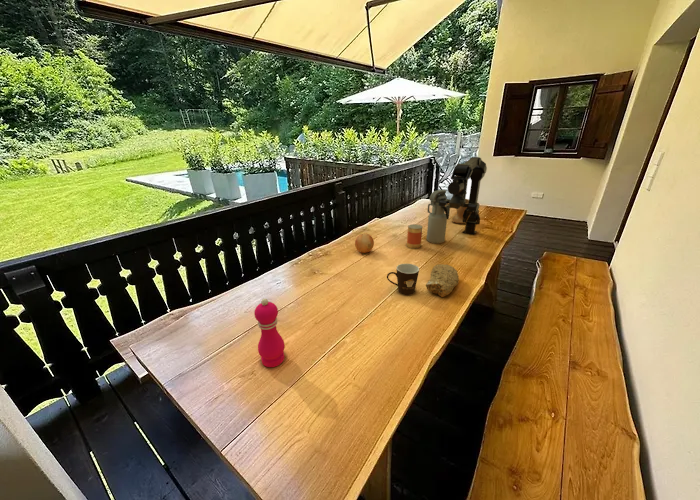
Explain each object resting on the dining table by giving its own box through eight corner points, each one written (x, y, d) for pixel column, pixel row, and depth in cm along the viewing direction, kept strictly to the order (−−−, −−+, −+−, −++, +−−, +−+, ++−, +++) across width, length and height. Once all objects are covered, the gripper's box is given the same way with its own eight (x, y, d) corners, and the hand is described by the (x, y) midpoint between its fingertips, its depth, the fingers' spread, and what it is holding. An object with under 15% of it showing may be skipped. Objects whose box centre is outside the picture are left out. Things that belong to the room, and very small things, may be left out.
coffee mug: (418, 287, 120) (420, 265, 117) (415, 298, 113) (417, 274, 109) (390, 283, 124) (391, 261, 120) (385, 293, 117) (386, 270, 113)
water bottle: (434, 245, 161) (439, 193, 150) (422, 239, 169) (426, 190, 158) (448, 241, 165) (454, 191, 154) (436, 236, 173) (440, 188, 162)
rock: (450, 303, 112) (468, 273, 124) (447, 286, 108) (466, 257, 121) (418, 297, 120) (438, 270, 133) (414, 281, 117) (435, 255, 130)
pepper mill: (262, 351, 88) (253, 292, 80) (287, 349, 89) (280, 290, 81) (257, 369, 81) (246, 307, 74) (284, 367, 82) (276, 305, 74)
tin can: (410, 242, 166) (411, 223, 161) (423, 245, 161) (424, 225, 157) (404, 246, 160) (405, 227, 156) (417, 249, 156) (418, 229, 152)
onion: (364, 257, 148) (364, 238, 144) (350, 251, 155) (350, 233, 151) (377, 252, 154) (378, 233, 150) (364, 246, 161) (364, 229, 157)
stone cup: (468, 225, 190) (471, 202, 184) (449, 223, 196) (452, 200, 190) (473, 219, 202) (476, 197, 196) (455, 217, 208) (457, 195, 202)
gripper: (435, 191, 147) (432, 221, 153) (475, 196, 136) (470, 228, 143) (444, 187, 155) (441, 216, 161) (481, 191, 144) (477, 222, 151)
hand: (456, 220), depth 154 cm, fingers open, 9 cm apart
